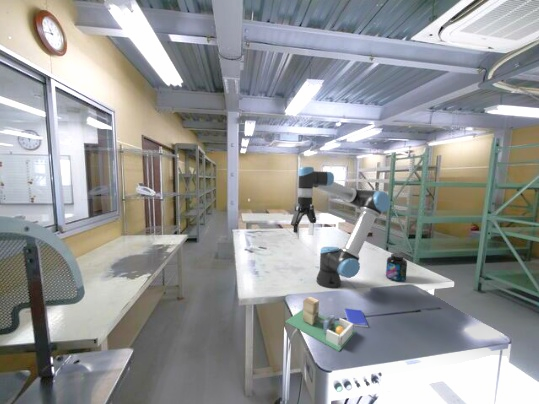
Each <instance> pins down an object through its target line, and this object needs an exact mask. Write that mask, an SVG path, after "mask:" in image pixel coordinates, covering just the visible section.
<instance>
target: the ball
mask: <svg viewBox="0 0 539 404" xmlns="http://www.w3.org/2000/svg"><path fill="white" fill-rule="evenodd" d="M344 330H345V329H344V328H343V327H341V326H338V327H336V329H335V333H336V334H338V335H340V334H341V333H342V332H343V331H344Z"/></svg>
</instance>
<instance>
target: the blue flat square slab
mask: <svg viewBox="0 0 539 404" xmlns="http://www.w3.org/2000/svg"><path fill="white" fill-rule="evenodd" d="M344 313H346V314H345V317H346V321H348V322H351V323H353V324H354V326H353V327H360V328H369V325H368V324H369V323H368V322H367V320H366V317H365V315H364V313H363V310H361V309H352V308H344Z"/></svg>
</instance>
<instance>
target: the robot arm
mask: <svg viewBox="0 0 539 404" xmlns="http://www.w3.org/2000/svg"><path fill="white" fill-rule="evenodd" d="M297 185H298V187H297V188H298V191H297V193H298V194H297V196H298V197H297V204H298V206H297V205H296V206H295V207H294V212H293V215H292V219H291V223H290V226H293V239H295V240H299V239H300V226H299V224H300V222H301V220H302V218H303V217H304V216H306V218H307V219H308V221H309V222H308V230H307V231H308V235H309V236H313V235H314V228H315V225H314V224H316V223H317V217H316V212H315V209H314V207H315V205H313V195H314V194H313V193H314V188H315V189H318V190H320V191H323V192H324V193H328V194H330V195H333V196H335V197H338V198H340V199H343V200H345V202H346V203H349V204H350V205H353V206H355V207H357V208H360V214H359V216H358V217H357V220H356V222H355V223H354V226H353V228H352V230H351V232H350V234H349V235H348V238H347V241H346V243H345V244H344V246H343V247H341V248H340V247H338V246H323V247H321V249H320V252H319V253H320V256H319V257H320V258H319V270H318V271H319V272H318V273H317V276H316V283H317V284H318V285H319V286H321V287H324V288H329V289H336V288H339V287H341V286H342V285H341V284H342V280H341V277H343V278H346V279H350V278H353V277H355V276H357V275H358V274H359V273H358V272H359V271H360V268H361V267H360V265H361V263H360V261H359V260H360V256H359V254H360V252H361V249H362V247H363V245H364V243H365V241H366V240H367V237H368V235H369V233H370V231H371V228H372V226H373V224H374V222H375V221H376V219H377V218H379V217H381V214H382V213H383V212H384V213H385V212H387V211H388V210H389V208H390V205H391V199H390V195H389V194H388V193H386V191H380V190H367V189H364V190H363V189H356V188H354V187H351V188H350V187H347V186H346V185H342V184H341V183H338V182H336V181H335V175H334V173H333V172H331V171H327V170H326V171H321V170H320V171H316V170H314V167H312V166H300V167H299V168H298V184H297Z"/></svg>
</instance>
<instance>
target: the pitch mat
mask: <svg viewBox="0 0 539 404" xmlns="http://www.w3.org/2000/svg"><path fill="white" fill-rule="evenodd" d="M318 317H320V318H322V319H324V320H326V319H327V318H328V317H326V316H324V315H323V314H319V313H318ZM284 322H285V324H286V323H287V324H288V325H290V326H292V327H293V328H295V329H297V330H299V331H300V332H303V333H305V334H306V335H308V336H310V337H311V338H313V339H314V340H316V341H319V342H320V343H322V344H324V345H326V346H328V347H330V348H331V349H333V350H336V351H337V352H340V351H341V350H342V349H343V348H345V346H346V344H347V343H348V342H349V341H350V339H351V338H353V336H354V335H355V334H356V333H357V330H354V329H353V333H352V335H351V336H350V337H349V338H348V339H347V340H346V341H345V342H344V344H343V345H342V346H341V347H339V346H337V345H335V344H333V343H331V342H329V341H328V340H326V334H325V333H323V327H324V324H323V323H320V322H318V321H317V322H316V323H314V324H313V325H311V324H309V323H307V322H305V321H303V309H301V310H300V311H298V312H297V313H295V314H294V315H293V316H291V317H290V318H288V319H286V320H285V321H284ZM338 326H339V322H336V321H335V326H334V328H333V329H331V330H330V331H332V332H334V333H335V329H336V327H338Z"/></svg>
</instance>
